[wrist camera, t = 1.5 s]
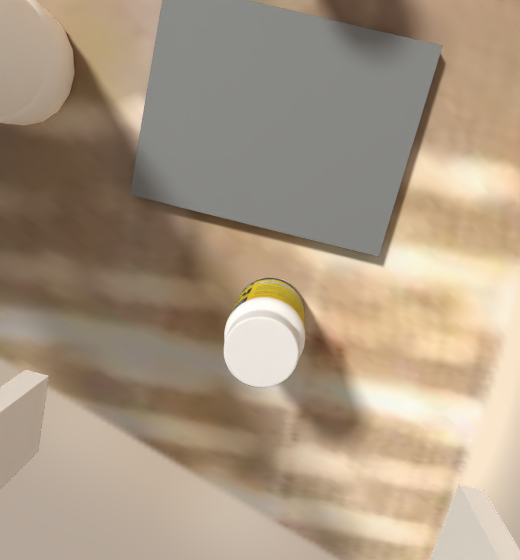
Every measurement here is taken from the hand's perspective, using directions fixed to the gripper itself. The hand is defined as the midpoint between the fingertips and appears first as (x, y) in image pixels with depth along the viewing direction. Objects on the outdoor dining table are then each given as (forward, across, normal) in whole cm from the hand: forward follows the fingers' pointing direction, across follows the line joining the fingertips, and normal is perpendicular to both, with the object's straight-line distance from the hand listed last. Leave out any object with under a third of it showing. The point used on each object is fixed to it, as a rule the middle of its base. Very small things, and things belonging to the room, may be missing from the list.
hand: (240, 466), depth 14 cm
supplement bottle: (+18, 0, 0) cm, 18 cm away
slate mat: (+18, -3, +12) cm, 22 cm away
